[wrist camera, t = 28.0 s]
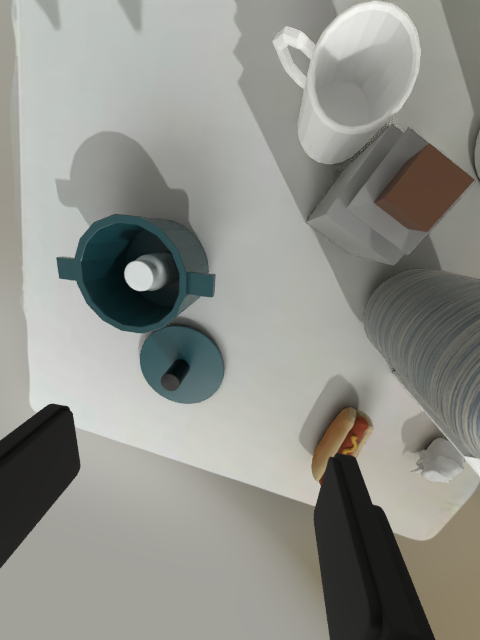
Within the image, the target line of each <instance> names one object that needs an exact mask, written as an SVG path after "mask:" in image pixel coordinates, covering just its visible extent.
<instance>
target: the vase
mask: <svg viewBox="0 0 480 640" xmlns="http://www.w3.org/2000/svg"><path fill="white" fill-rule="evenodd" d="M363 323H364V329H365V332H366V334H367V337H368V339H369V340H370V342H371V343H372V344H373V346H374V347H375V348H376V349H377V350H378V351H379V352H380V353H381V355H382V356H383V357H384V358H385V359H386V360H387V361H388V362H389V364H390V365H391V366H392V367H393V368H394V369H395V370H396V371H397V373H398V374H399V375H400V376H401V377H402V378H403V379H404V380H405V382H406V383H407V384H408V385H409V386H410V387H411V388H412V389H413V391H414V392H415V393H416V394H417V395H418V396H419V397H420V398H421V400H422V401H423V402H424V403H425V404H426V405H427V406H428V407H429V409H430V410H431V411H432V412H433V413H434V414H435V415H436V416H437V418H438V419H439V420H440V421H441V422H442V423H443V424H444V425H445V427H446V428H447V429H448V430H449V431H450V432H451V433H452V434H453V436H454V437H455V438H456V439H457V440H458V441H459V442H460V443H461V444H462V445H463V446H464V447H465V449H466V450H467V451H468V452H470V453H471V454H472V455H474V456H475V457H476V458H478V459H479V460H480V279H476V278H472V277H467V276H462V275H458V274H453V273H449V272H444V271H439V270H435V269H425V268H422V269H412V270H408V271H404V272H401V273H399V274H396V275H394V276H392V277H391V278H389V279H387V280H386V281H384V282H383V283H382V284H381V285H379V286H378V288H377V289H376V290H375V291H374V292H373V293H372V295H371V296H370V298H369V300H368V302H367V304H366V307H365V311H364V319H363Z"/></svg>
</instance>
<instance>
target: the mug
mask: <svg viewBox="0 0 480 640" xmlns="http://www.w3.org/2000/svg"><path fill="white" fill-rule="evenodd" d="M272 42H273V45H274V47H275V49H276V52H277V54H278V57H279V59H280V61H281V64H282V66H283V68H284V70H285V71H286V72H287V73H288V74H289V75H290V76H291V78H292V79H293V80H294V81H295V82H296V83H297V84H298V85H299V86H300V87H301V88H303V89H304V93H303V98H302V103H301V108H300V113H299V118H298V137H299V140H300V143H301V147H302V148H303V149H304V151H305V152H306V154H307V155H308V156H309V157H310V158H312V159H313V160H315V161H316V162H319V163H323V164H328V165H329V164H337V163H341V162H343V161H345V160H347V159H349V158H351V157H352V156H353V155H354V154H356V153H357V152H358V151H359V150H360V149H361V148H362V147H363V146H364V145H365V144H366V143H367V142H368V141H369V140H370V139H371V138H372V137H373V136H374V135H375V134H376V133H377V132H378V131H379V130H380V129H381V128H382V127H383V126H384V125H385V124H386V123H387V122H388V121H389V120H390V119H391V118H392V117H393V116H394V115H395V114H396V113H397V112H398V111H399V110H400V109H401V107H402V106H403V104H404V103H405V101H406V100H407V98H408V97H409V95H410V94H411V92H412V89H413V86H414V84H415V81H416V78H417V75H418V73H419V65H420V55H421V48H420V42H419V37H418V32H417V29H416V27H415V25H414V24H413V22H412V20H411V19H410V17H409V15H408V14H407V13H406V12H405V11H404V10H402V9H401V8H399V7H398V6H397V5H395V4H394V3H392V2H386V1H381V0H369V1H365V2H361V3H356V4H354V5H353V6H351V7H349V8H348V9H346V10H345V11H343V12H341V13H340V14H338V15H337V16H336V17H335V19H334V20H333V21H332V22H331V23H330V24H329V25H328V26H327V27H326V29H325V30H324V31H323V33H322V34H321V36H320V38H319V40H318V42H317V44H316V45H315V44H314V43H313V42H312V41H311V40H310V39H309V38H308V37H307V36H306V35H305V34H304V33H303V32H302V31H300V30H297V29H294V28H291V27H288V26H285V27H284V28H283V29H282V30H280V31H279V32H278V33H277V34H276V35H275V37H274V39H273V41H272ZM288 45H290V46H292V47H294V48H297V49H299V50H301V51H302V52H303V53H304V54H305V55H306V56H307V57H308V58H309V59H311V61H310V65H309V69H308V73H307V77H306V76H305V75H304V74H303V73H302V72H301V71H300V70H299V68H298V67H297V66H296V65H295V64H294V62H293V61H292V58H291V55H290V53H289V50H288V47H287V46H288Z"/></svg>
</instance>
